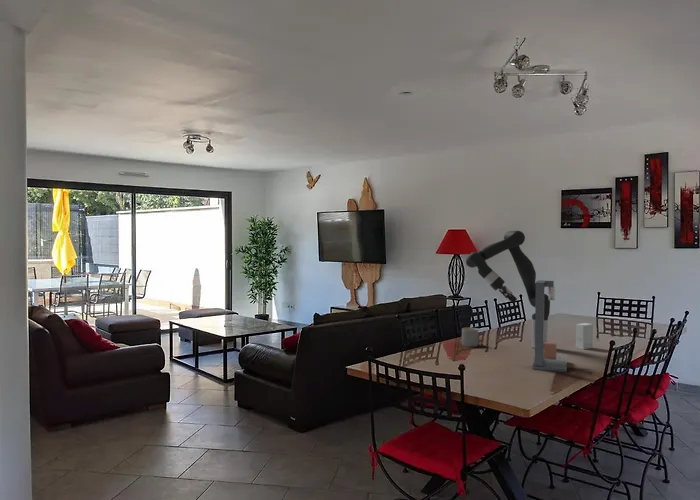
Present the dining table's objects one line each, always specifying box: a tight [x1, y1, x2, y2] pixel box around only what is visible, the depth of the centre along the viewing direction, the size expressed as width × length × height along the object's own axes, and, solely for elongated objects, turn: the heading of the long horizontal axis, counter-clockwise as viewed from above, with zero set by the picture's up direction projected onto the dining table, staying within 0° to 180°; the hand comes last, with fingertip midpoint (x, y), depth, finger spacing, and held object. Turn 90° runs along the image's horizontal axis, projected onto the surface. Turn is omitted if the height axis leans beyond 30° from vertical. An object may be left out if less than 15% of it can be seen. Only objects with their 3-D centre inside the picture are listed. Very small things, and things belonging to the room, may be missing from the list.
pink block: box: [544, 341, 557, 358], centre depth 275 cm, size 6×6×7 cm
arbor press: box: [531, 279, 568, 373], centre depth 272 cm, size 24×16×44 cm, turn 157°
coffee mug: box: [461, 327, 479, 348], centre depth 326 cm, size 13×10×10 cm
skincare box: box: [575, 322, 594, 350], centre depth 316 cm, size 8×6×15 cm
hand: (515, 301), depth 292 cm, fingers open, 8 cm apart
